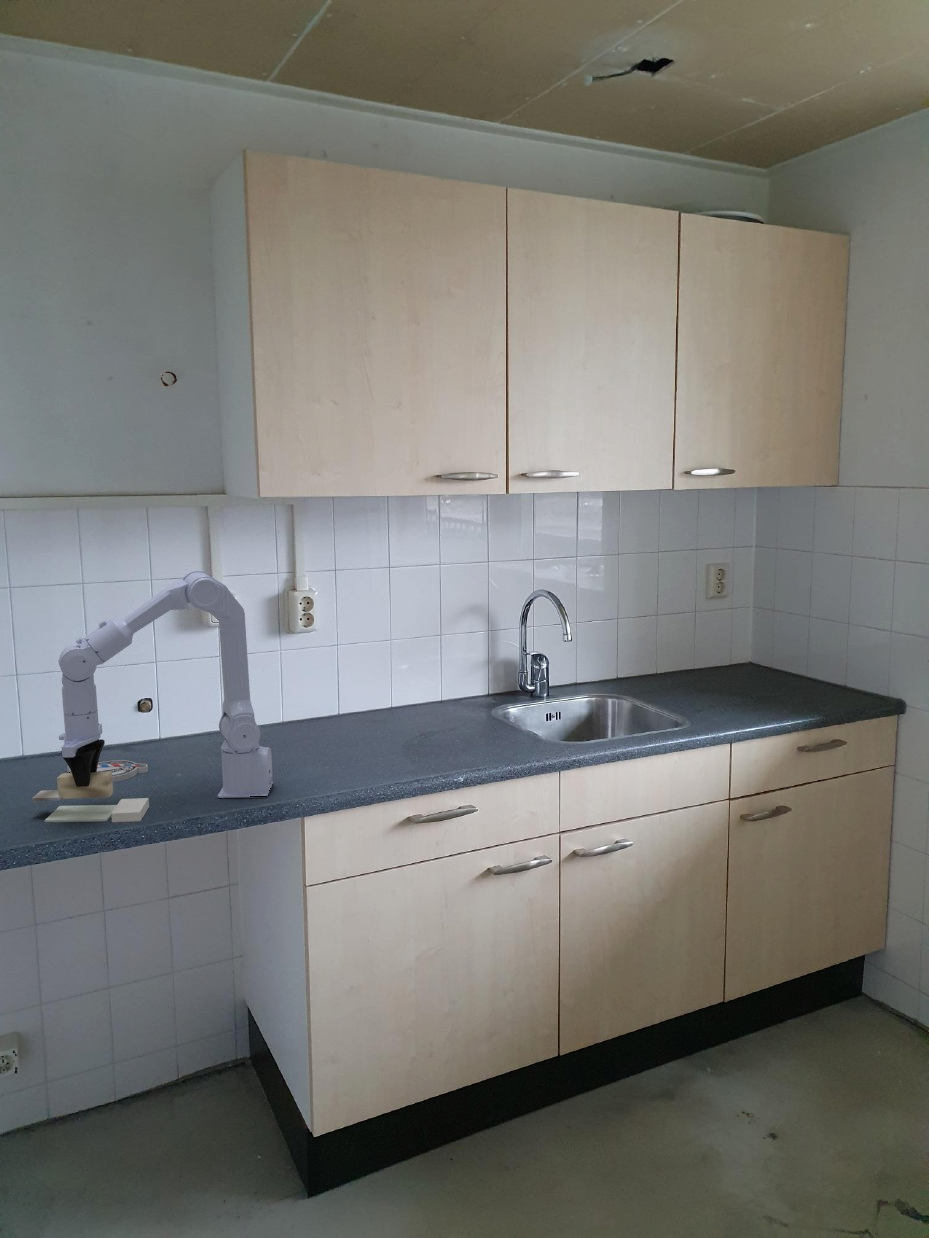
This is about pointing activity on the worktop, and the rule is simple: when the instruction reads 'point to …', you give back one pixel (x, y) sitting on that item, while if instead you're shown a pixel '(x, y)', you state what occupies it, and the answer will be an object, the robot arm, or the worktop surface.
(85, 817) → the pad
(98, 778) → the wooden handled scraper
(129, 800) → the tile
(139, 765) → the emblem
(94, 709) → the robot arm
